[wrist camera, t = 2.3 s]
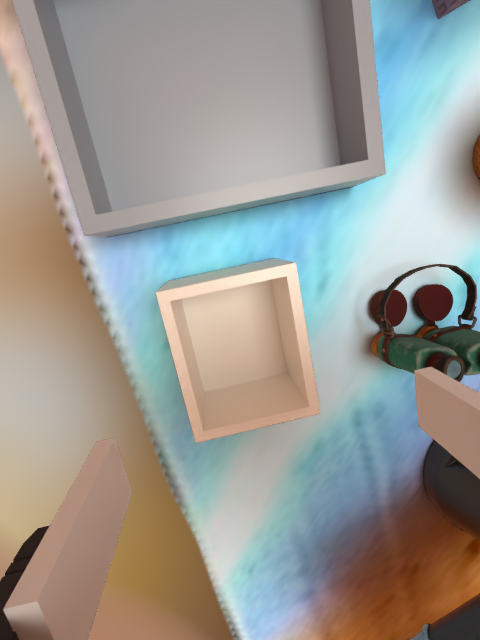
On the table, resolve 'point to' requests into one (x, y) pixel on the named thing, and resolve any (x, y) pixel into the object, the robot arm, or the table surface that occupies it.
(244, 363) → the small crate
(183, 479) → the table surface
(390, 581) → the table surface
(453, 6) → the box
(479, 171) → the disposable coffee cup
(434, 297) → the binoculars
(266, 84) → the big crate
